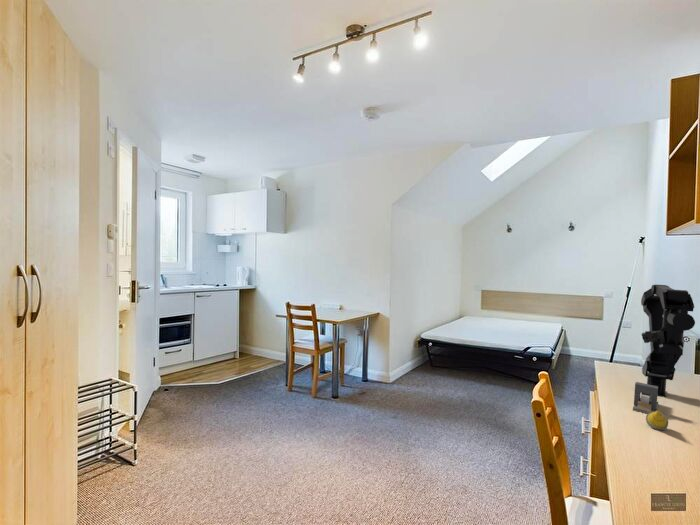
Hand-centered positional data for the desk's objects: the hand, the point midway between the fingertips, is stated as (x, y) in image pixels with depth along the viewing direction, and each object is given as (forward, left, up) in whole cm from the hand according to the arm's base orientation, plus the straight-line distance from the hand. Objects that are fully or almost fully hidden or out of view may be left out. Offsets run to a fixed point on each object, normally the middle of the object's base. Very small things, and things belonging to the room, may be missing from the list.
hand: (669, 369), depth 135 cm
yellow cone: (+26, -1, -13) cm, 29 cm away
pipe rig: (+7, -6, -13) cm, 16 cm away
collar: (+10, -6, -12) cm, 17 cm away
